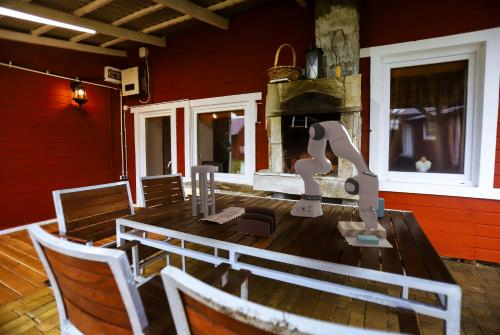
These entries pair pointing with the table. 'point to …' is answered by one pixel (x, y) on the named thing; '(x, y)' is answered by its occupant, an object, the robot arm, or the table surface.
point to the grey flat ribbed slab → (225, 215)
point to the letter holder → (257, 221)
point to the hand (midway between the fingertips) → (367, 231)
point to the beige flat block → (360, 229)
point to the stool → (203, 189)
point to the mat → (355, 242)
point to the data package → (380, 208)
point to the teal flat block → (367, 239)
